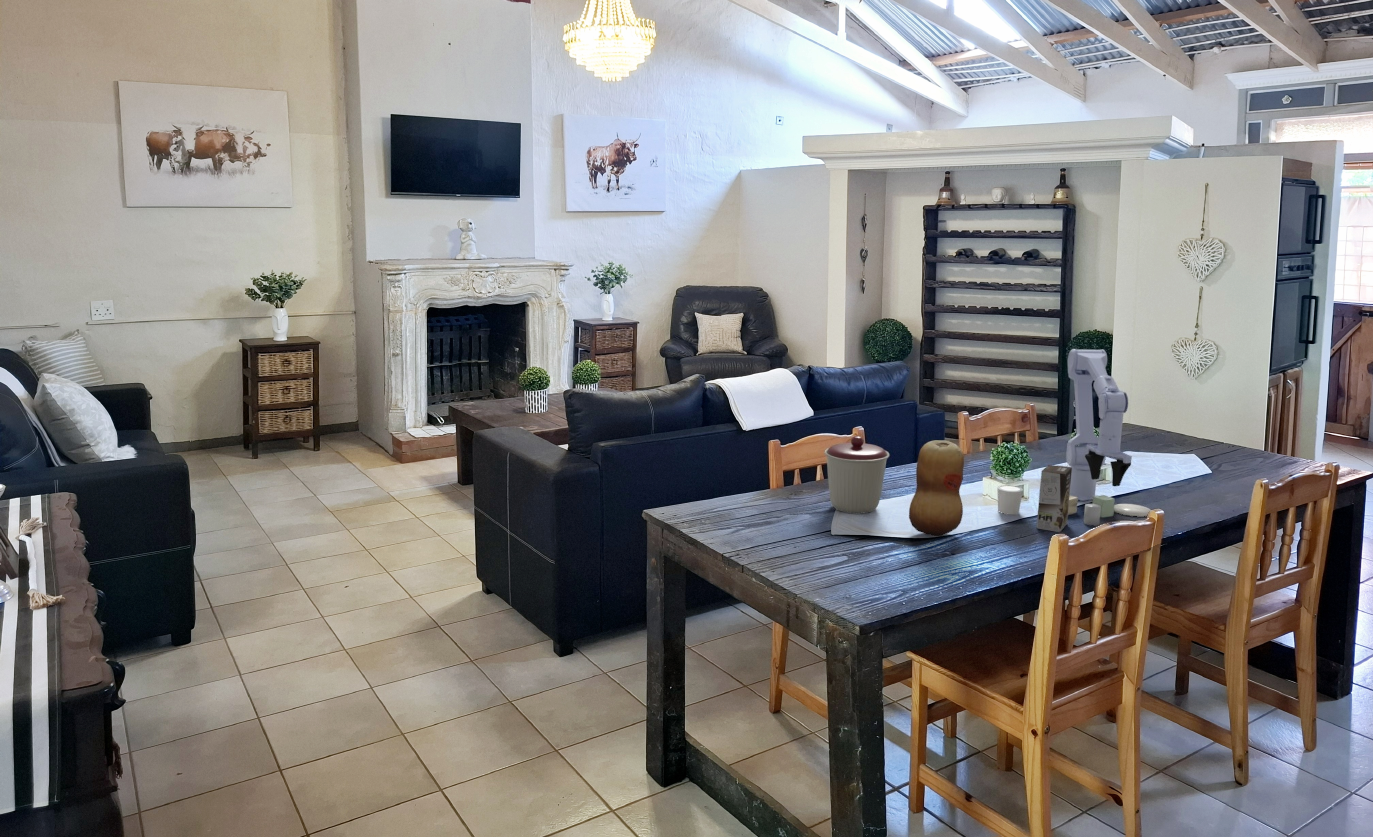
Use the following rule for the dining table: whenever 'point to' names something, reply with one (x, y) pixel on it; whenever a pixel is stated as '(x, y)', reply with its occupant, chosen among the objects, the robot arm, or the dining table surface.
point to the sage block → (1105, 505)
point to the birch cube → (1072, 505)
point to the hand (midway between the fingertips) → (1105, 482)
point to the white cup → (1009, 499)
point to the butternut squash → (938, 489)
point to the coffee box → (1054, 498)
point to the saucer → (1131, 510)
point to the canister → (855, 475)
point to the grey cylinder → (1092, 514)
